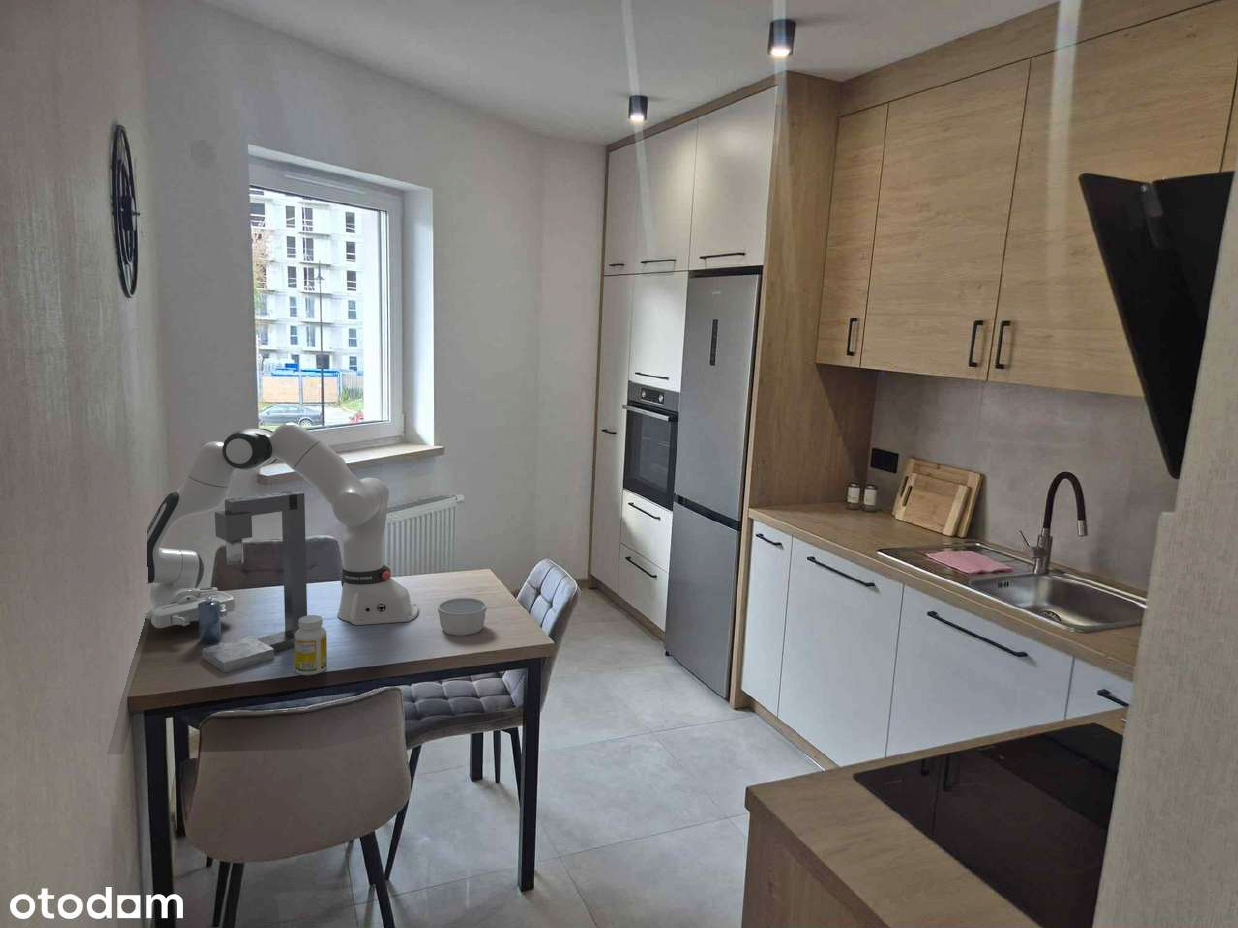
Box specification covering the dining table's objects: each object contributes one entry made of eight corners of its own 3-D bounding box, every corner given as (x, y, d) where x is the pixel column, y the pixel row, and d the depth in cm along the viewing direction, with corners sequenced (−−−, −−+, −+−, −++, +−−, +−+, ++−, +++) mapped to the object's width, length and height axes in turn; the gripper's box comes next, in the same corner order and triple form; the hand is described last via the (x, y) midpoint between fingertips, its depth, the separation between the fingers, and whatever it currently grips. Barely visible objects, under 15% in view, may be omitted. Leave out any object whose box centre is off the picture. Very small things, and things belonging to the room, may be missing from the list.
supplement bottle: (304, 678, 184) (303, 626, 181) (289, 669, 188) (288, 618, 186) (332, 669, 189) (331, 618, 187) (317, 660, 194) (316, 611, 191)
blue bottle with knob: (224, 636, 206) (222, 594, 204) (217, 644, 201) (215, 601, 199) (204, 636, 205) (202, 594, 203) (196, 644, 200) (194, 601, 198)
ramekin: (436, 638, 211) (436, 613, 210) (439, 620, 224) (439, 597, 223) (485, 637, 213) (486, 613, 212) (486, 620, 226) (486, 597, 225)
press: (292, 633, 210) (288, 487, 203) (315, 646, 202) (312, 495, 196) (202, 658, 192) (195, 499, 186) (224, 672, 185) (217, 508, 178)
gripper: (141, 602, 204) (161, 616, 195) (221, 585, 220) (244, 597, 211) (142, 625, 205) (163, 640, 196) (222, 607, 221) (245, 619, 212)
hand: (205, 617), depth 204 cm, fingers open, 8 cm apart
